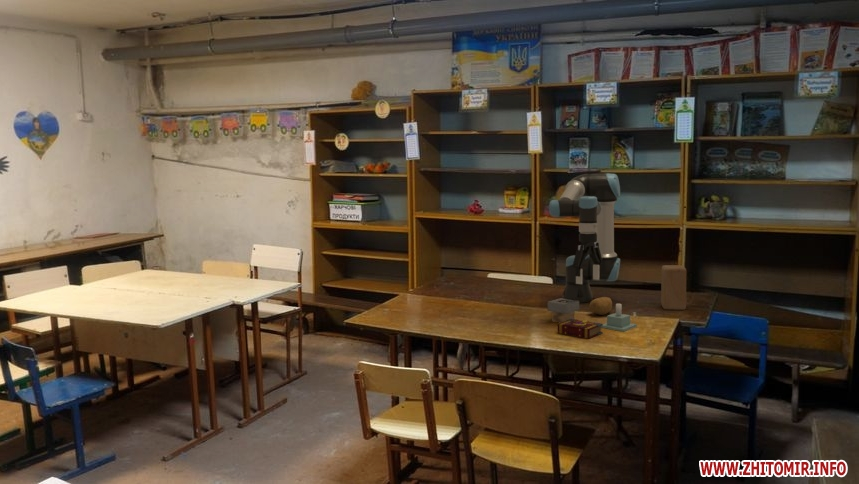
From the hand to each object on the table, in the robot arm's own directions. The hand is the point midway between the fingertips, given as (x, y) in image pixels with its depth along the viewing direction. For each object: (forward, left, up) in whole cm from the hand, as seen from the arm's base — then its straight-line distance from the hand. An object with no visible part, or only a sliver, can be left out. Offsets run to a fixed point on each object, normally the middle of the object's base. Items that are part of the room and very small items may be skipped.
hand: (587, 281), depth 284 cm
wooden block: (+12, +56, -20) cm, 60 cm away
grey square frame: (-13, +1, -15) cm, 19 cm away
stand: (-13, +1, -20) cm, 23 cm away
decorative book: (+4, -13, -20) cm, 24 cm away
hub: (+11, +7, -20) cm, 23 cm away
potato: (-7, +23, -20) cm, 31 cm away
